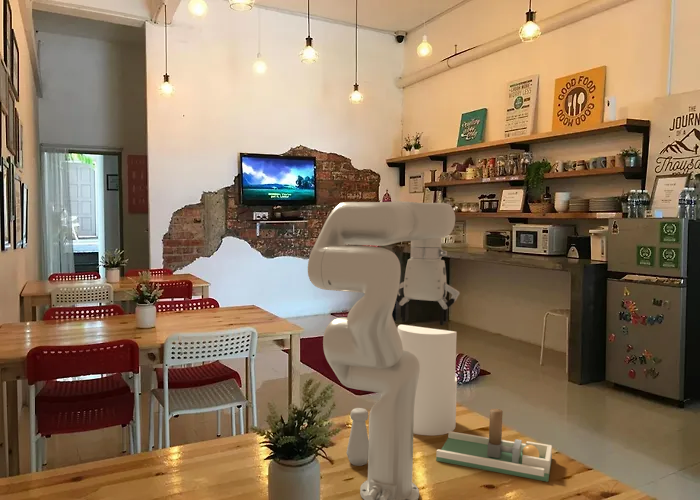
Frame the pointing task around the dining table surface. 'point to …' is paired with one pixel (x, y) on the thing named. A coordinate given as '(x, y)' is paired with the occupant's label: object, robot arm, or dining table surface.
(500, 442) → the striker
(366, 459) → the salt shaker
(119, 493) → the dining table surface
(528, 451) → the ball
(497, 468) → the pitch
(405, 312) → the robot arm
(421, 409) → the cylinder
